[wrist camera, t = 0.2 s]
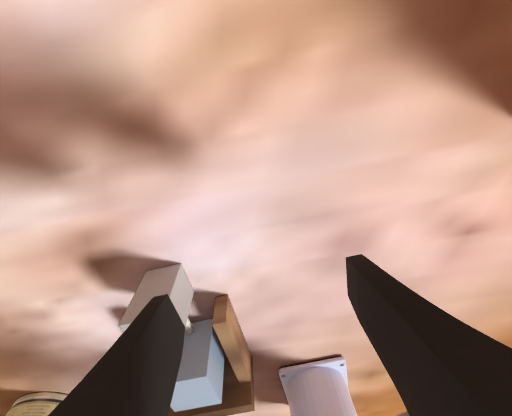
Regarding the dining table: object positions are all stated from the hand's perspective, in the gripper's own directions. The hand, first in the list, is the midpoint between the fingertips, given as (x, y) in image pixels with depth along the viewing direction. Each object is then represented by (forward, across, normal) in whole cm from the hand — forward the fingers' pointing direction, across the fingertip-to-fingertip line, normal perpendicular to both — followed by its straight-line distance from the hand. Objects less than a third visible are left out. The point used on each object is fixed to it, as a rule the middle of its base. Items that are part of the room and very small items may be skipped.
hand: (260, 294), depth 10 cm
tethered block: (+10, +9, +11) cm, 17 cm away
